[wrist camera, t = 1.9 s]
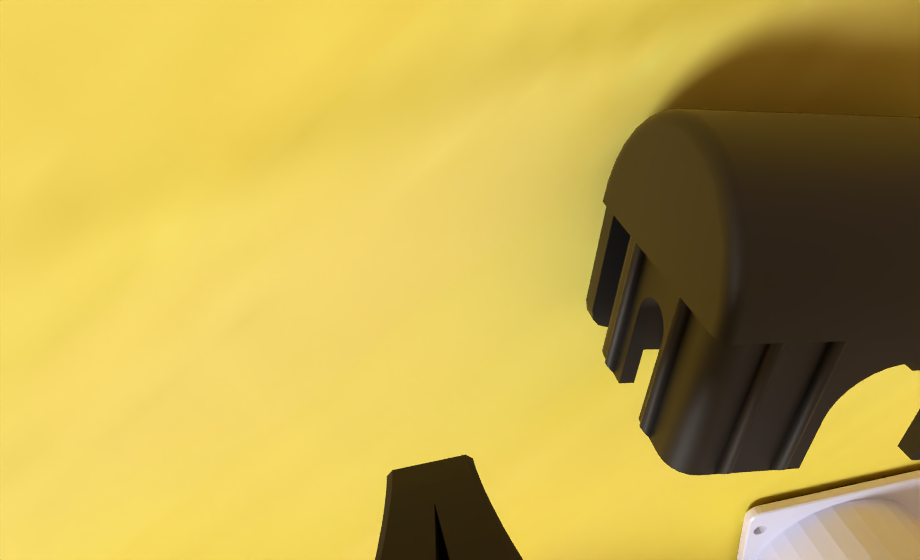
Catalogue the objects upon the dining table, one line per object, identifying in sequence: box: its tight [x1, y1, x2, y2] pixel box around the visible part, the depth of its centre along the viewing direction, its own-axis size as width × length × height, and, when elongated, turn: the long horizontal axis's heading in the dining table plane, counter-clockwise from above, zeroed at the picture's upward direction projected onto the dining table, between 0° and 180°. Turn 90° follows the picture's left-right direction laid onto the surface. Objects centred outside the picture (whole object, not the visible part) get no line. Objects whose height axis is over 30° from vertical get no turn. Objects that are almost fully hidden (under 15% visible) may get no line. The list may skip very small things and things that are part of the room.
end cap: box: [586, 109, 920, 475], centre depth 15 cm, size 10×7×7 cm
